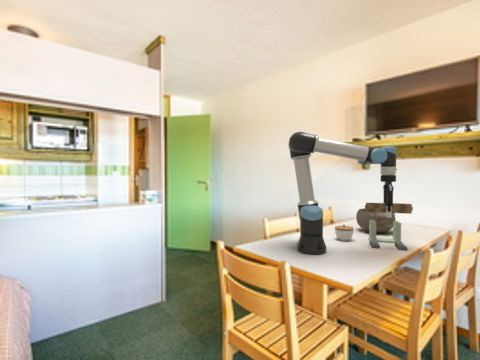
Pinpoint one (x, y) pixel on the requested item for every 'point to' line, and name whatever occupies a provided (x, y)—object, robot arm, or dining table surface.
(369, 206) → the rail
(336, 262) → the dining table surface
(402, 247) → the rests
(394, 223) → the rack
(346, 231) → the lidded jar
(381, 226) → the bowl
